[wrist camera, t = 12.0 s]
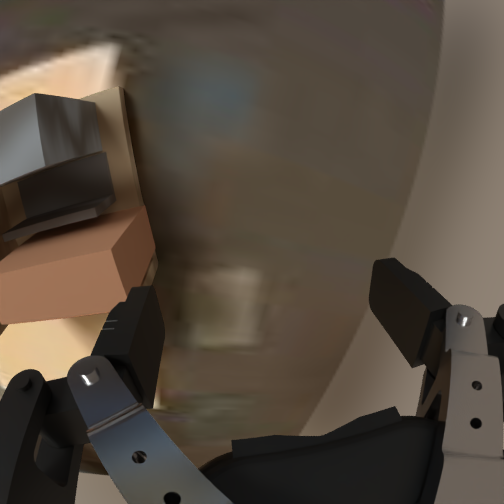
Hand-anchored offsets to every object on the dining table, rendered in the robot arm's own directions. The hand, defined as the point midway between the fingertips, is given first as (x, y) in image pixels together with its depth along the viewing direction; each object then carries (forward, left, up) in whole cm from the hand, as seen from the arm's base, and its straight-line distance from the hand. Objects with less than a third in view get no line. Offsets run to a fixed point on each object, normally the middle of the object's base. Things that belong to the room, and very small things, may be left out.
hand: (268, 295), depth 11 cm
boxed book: (-1, +14, -16) cm, 21 cm away
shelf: (+3, +16, -18) cm, 24 cm away
